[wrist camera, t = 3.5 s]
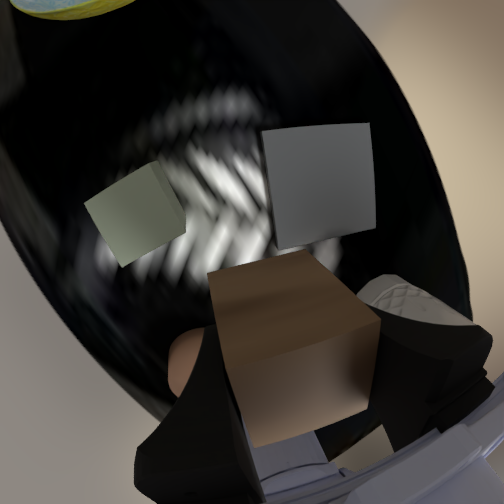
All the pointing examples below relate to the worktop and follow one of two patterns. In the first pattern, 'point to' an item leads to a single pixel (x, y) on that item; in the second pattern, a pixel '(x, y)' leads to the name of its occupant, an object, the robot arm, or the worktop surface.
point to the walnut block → (293, 344)
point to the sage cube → (138, 213)
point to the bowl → (67, 8)
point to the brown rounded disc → (183, 358)
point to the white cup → (408, 301)
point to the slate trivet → (319, 182)
